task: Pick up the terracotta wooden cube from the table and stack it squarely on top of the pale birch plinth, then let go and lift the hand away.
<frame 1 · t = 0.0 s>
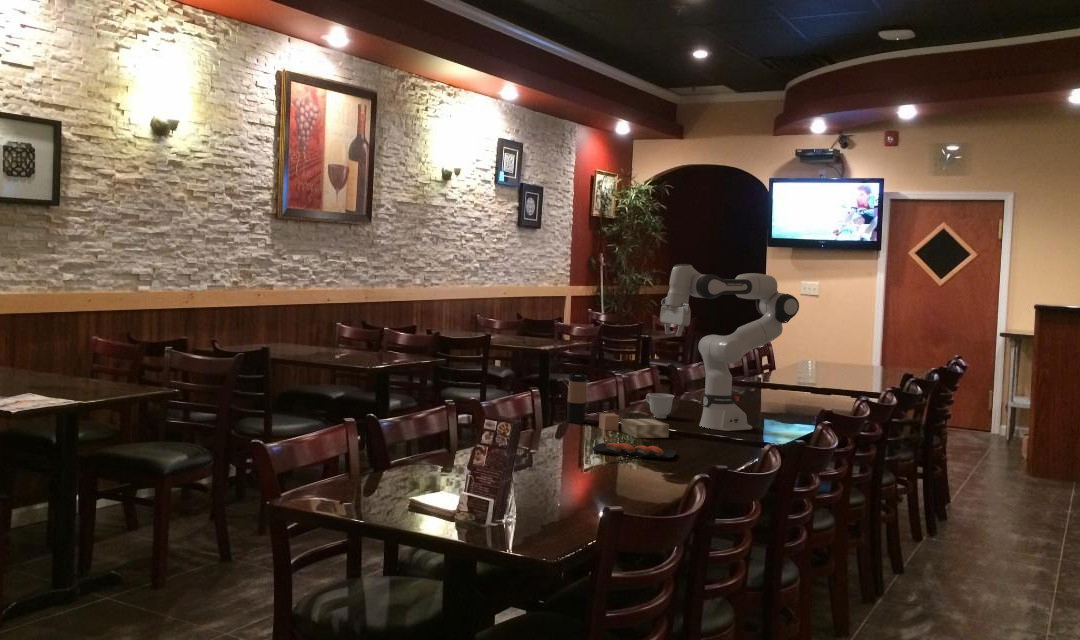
hand: (672, 335, 393), 39 cm above the table, tool pointing down, fingers open, 8 cm apart
teacup: (657, 417, 424), on the table
travel mug: (575, 422, 399), on the table
terracotta cube: (608, 429, 386), on the table
birch plinth: (644, 434, 378), on the table
sushi plate: (630, 459, 329), on the table
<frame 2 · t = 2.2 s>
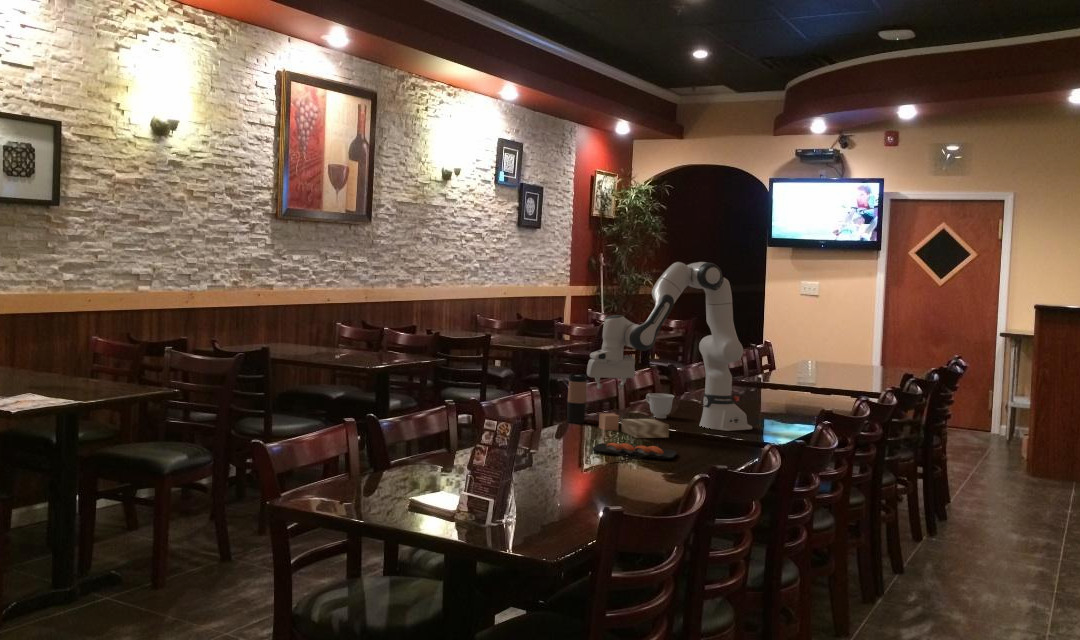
hand: (610, 388, 385), 16 cm above the table, tool pointing down, fingers open, 8 cm apart
nothing on the table moved.
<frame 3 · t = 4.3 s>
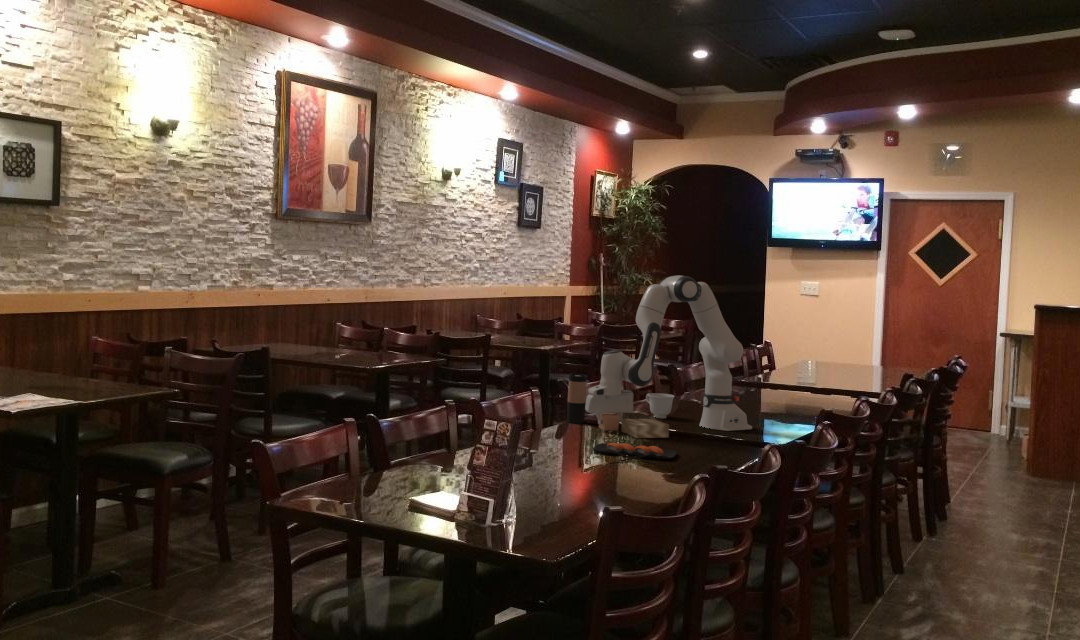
hand: (608, 423, 386), 2 cm above the table, tool pointing down, fingers closed on terracotta cube, 6 cm apart
terracotta cube: (608, 428, 386), on the table, touching gripper
everything else where it was.
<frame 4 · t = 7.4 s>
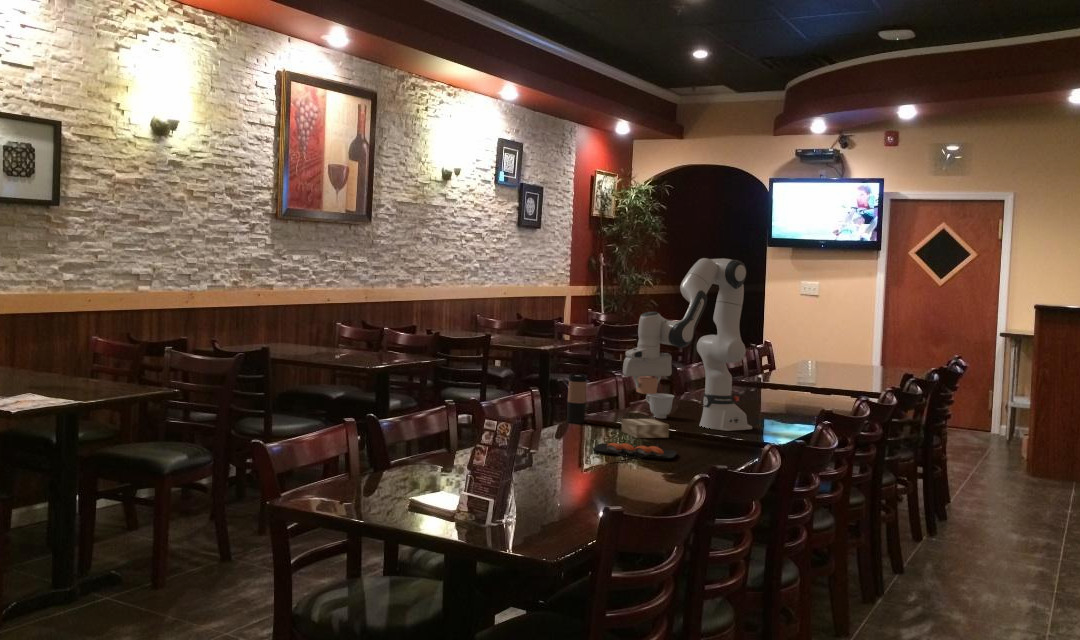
hand: (646, 387, 377), 19 cm above the table, tool pointing down, fingers closed on terracotta cube, 6 cm apart
terracotta cube: (646, 392, 377), point 17 cm above the table, touching gripper
everything else where it was.
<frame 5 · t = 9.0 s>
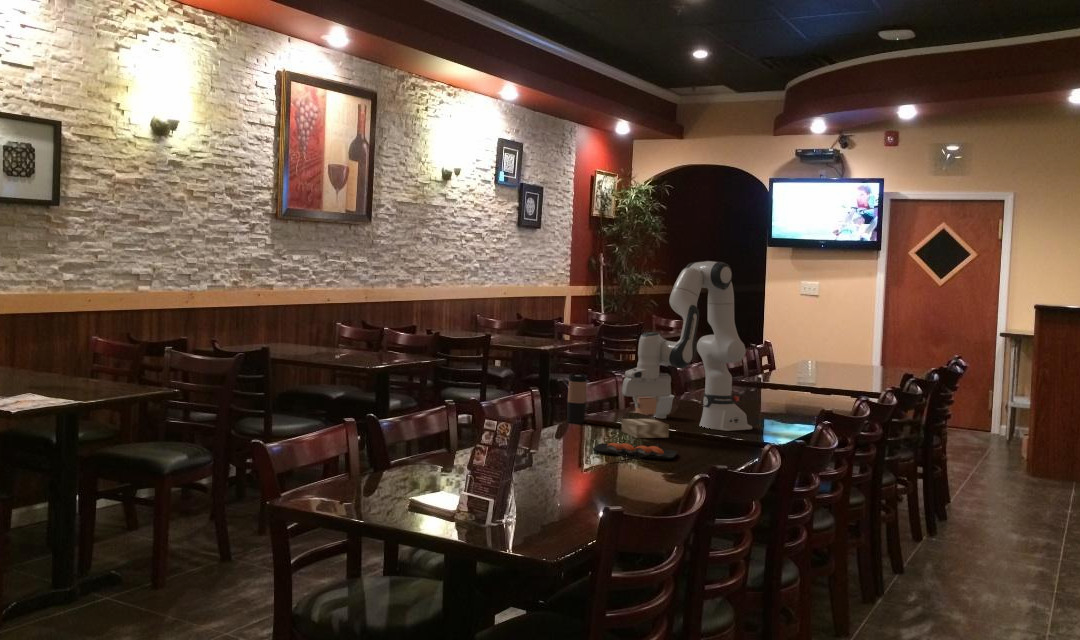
hand: (645, 407, 377), 11 cm above the table, tool pointing down, fingers closed on terracotta cube, 6 cm apart
terracotta cube: (645, 412, 377), point 9 cm above the table, touching gripper
everything else where it was.
when the fingers open (9 cm above the table, at t = 10.4 s): terracotta cube drops 1 cm, resting on birch plinth.
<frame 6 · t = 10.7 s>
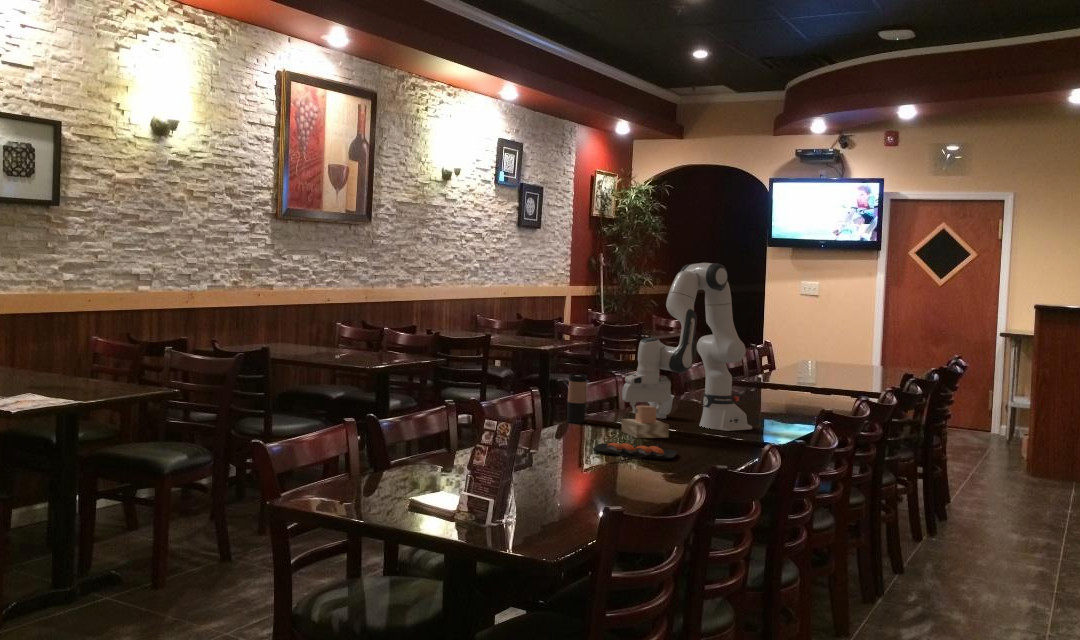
hand: (645, 413, 377), 9 cm above the table, tool pointing down, fingers open, 8 cm apart
terracotta cube: (645, 421, 377), point 5 cm above the table, touching birch plinth
everything else where it was.
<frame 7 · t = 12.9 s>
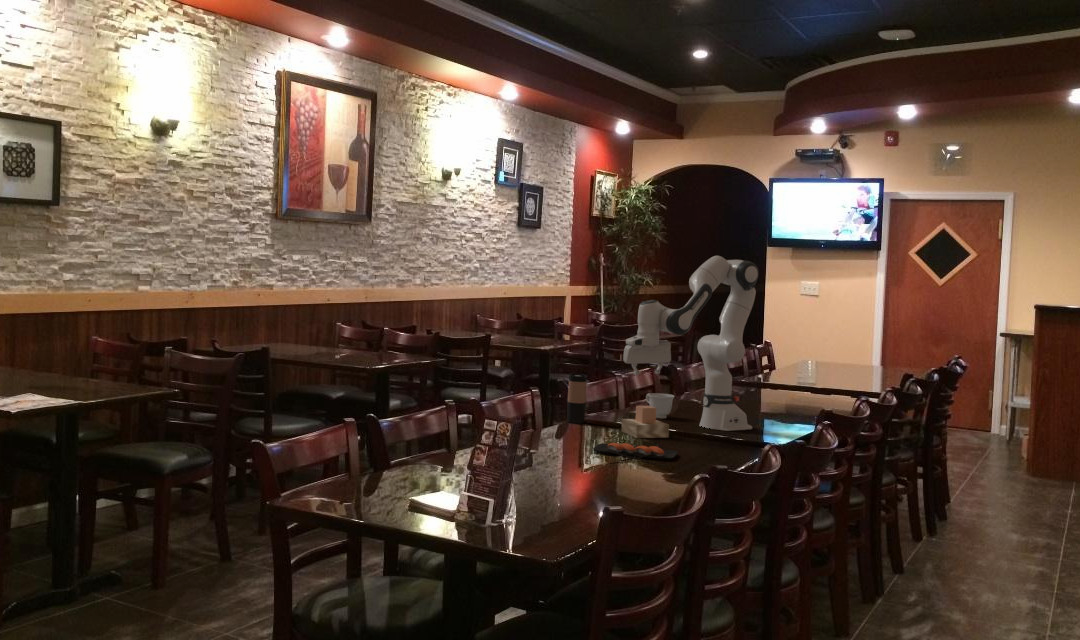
hand: (646, 374, 385), 23 cm above the table, tool pointing down, fingers open, 8 cm apart
nothing on the table moved.
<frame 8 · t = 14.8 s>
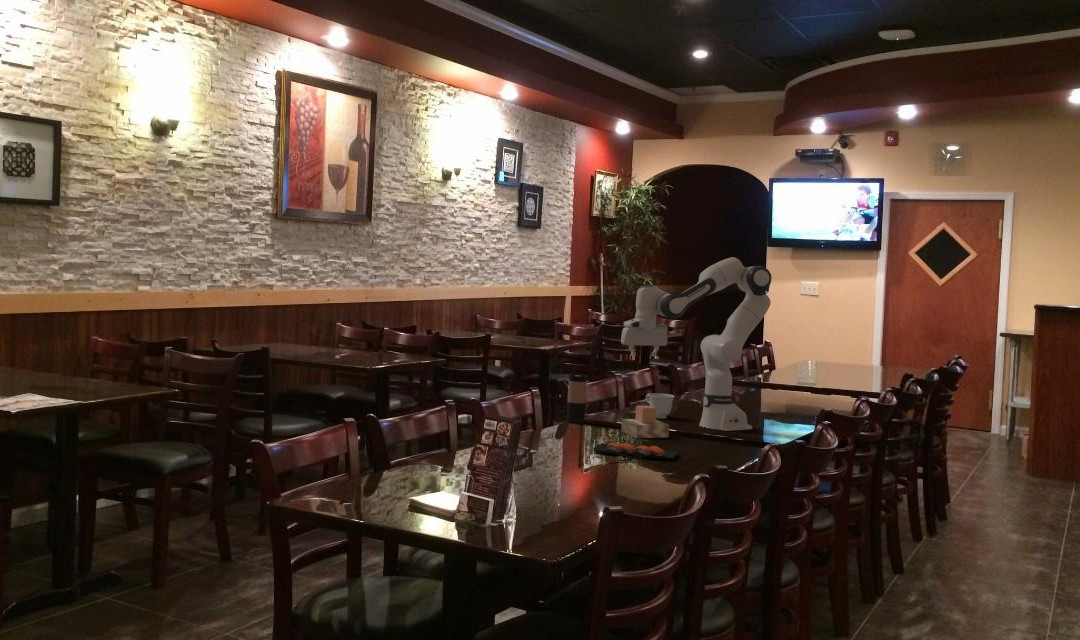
hand: (643, 356, 398), 29 cm above the table, tool pointing down, fingers open, 8 cm apart
nothing on the table moved.
at the end: terracotta cube inside the target area on the birch plinth (0.1 cm from its centre), point 5.0 cm above the birch plinth's base; terracotta cube tilted 0°; the gripper is holding nothing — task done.
